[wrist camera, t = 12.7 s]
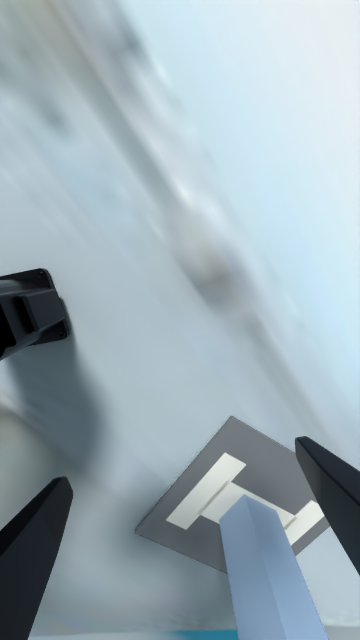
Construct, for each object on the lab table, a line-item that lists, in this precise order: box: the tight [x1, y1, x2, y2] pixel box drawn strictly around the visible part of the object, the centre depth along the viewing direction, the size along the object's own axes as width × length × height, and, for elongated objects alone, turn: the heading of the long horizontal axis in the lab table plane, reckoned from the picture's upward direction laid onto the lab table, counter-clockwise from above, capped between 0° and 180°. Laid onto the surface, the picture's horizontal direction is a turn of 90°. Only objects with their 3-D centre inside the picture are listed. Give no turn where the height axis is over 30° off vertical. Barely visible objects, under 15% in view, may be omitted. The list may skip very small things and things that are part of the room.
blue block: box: [219, 494, 329, 640], centre depth 20 cm, size 5×5×13 cm
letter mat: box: [135, 416, 330, 574], centre depth 26 cm, size 20×20×1 cm
